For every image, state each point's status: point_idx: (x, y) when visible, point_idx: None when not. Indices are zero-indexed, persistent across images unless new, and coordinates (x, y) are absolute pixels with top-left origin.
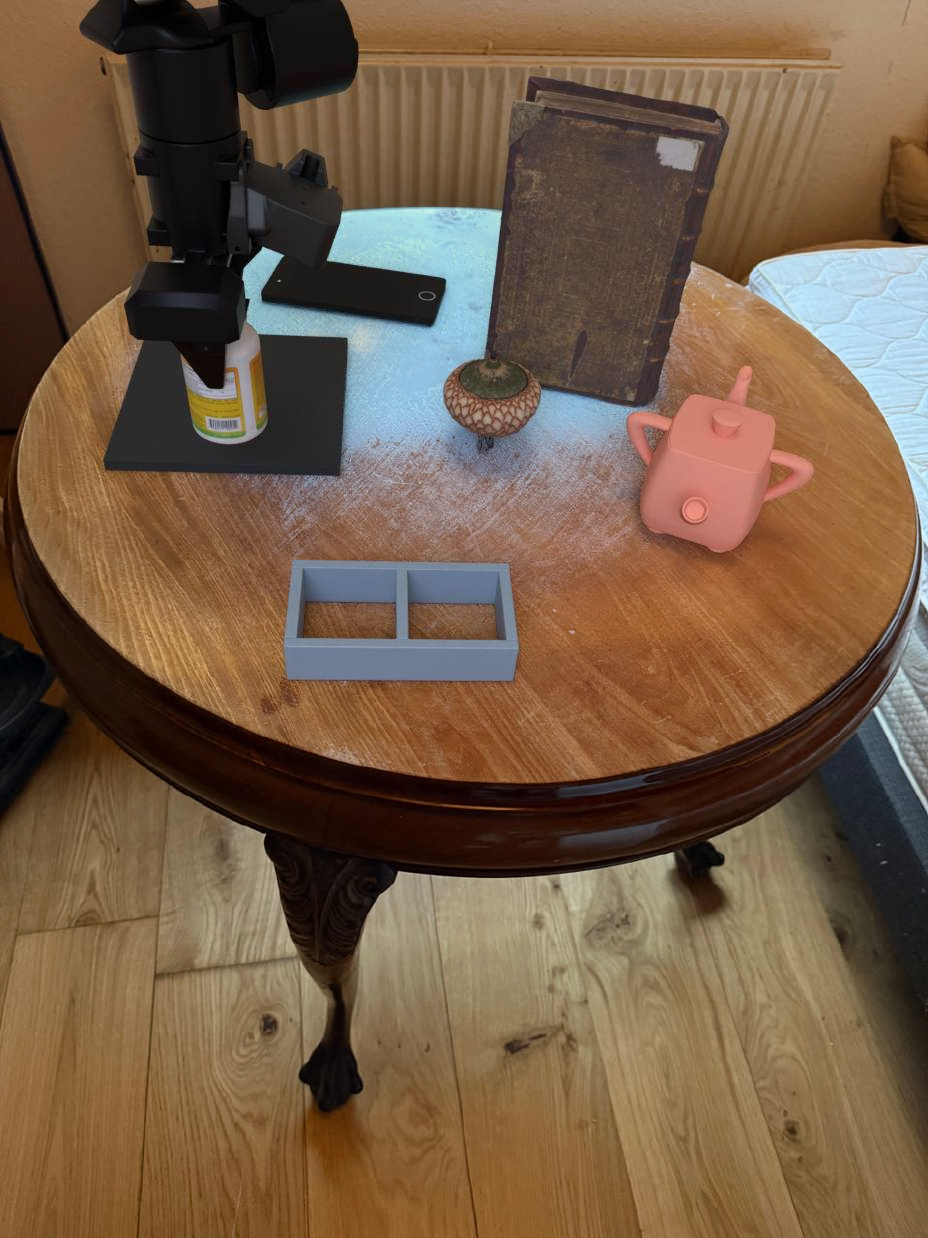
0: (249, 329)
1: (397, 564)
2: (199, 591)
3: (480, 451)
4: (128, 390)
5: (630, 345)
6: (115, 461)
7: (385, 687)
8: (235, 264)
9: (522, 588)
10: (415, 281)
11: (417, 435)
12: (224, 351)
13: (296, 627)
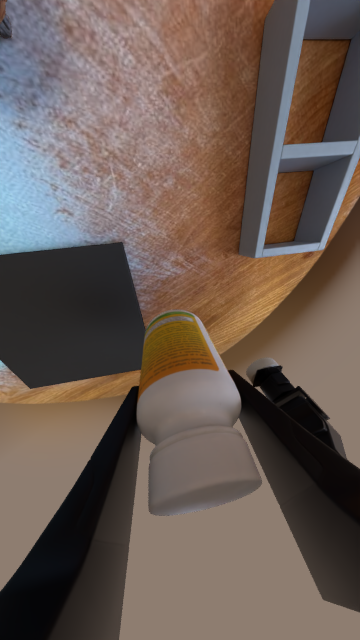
0: (183, 407)
1: (275, 157)
2: (231, 304)
3: (9, 29)
4: (94, 376)
5: None
6: None
7: None
8: (81, 593)
9: None
10: None
11: (25, 159)
12: (299, 424)
13: (312, 244)
